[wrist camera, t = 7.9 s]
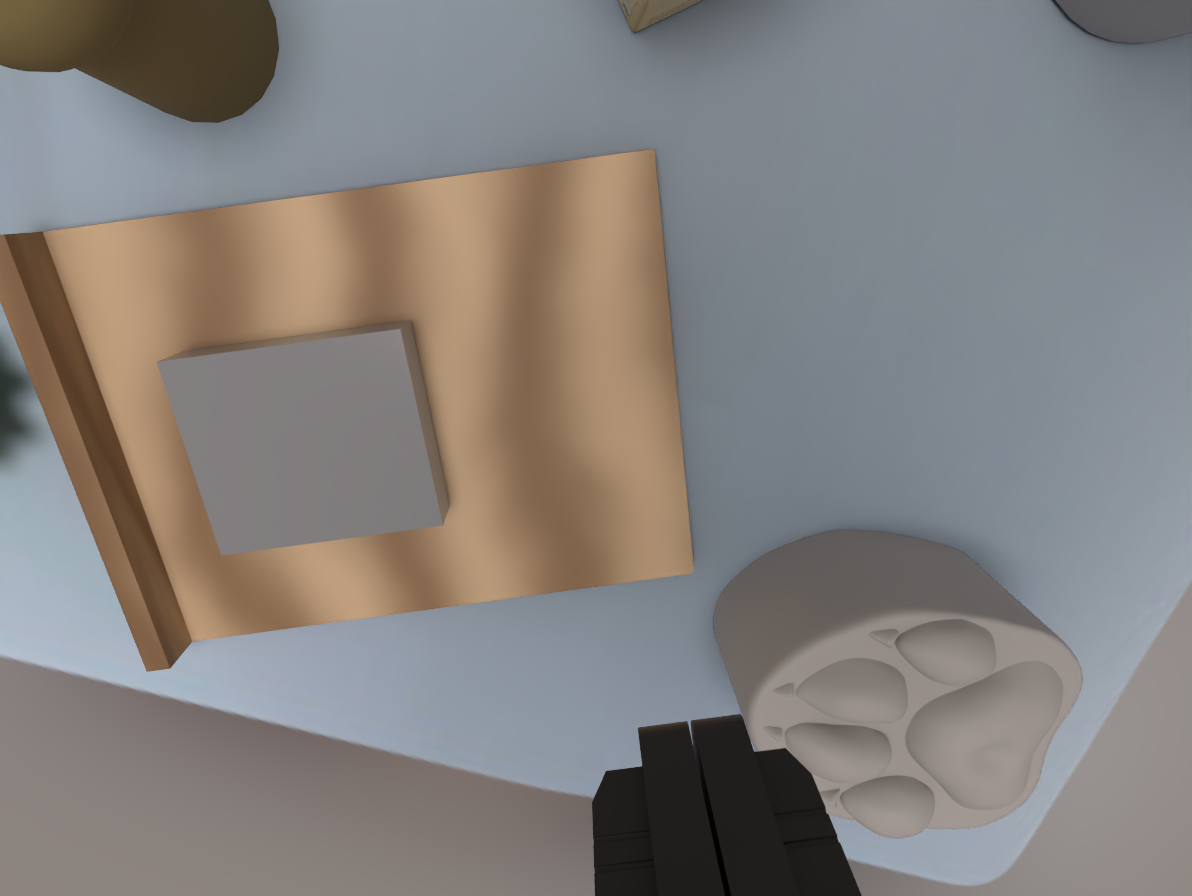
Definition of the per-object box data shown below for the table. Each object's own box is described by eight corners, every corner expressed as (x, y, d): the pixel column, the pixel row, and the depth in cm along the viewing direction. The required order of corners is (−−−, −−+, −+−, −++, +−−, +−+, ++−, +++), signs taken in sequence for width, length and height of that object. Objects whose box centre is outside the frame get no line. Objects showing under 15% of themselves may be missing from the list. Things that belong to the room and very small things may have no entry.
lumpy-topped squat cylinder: (933, 726, 38) (1035, 872, 30) (690, 697, 37) (728, 841, 29) (1003, 549, 35) (1139, 658, 27) (740, 510, 33) (798, 612, 25)
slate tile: (400, 328, 27) (156, 361, 27) (443, 525, 29) (221, 555, 29) (412, 318, 29) (186, 349, 29) (450, 503, 32) (244, 531, 32)
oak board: (651, 150, 28) (661, 145, 25) (690, 562, 34) (702, 596, 31) (34, 234, 28) (-25, 238, 25) (181, 631, 34) (146, 671, 31)
